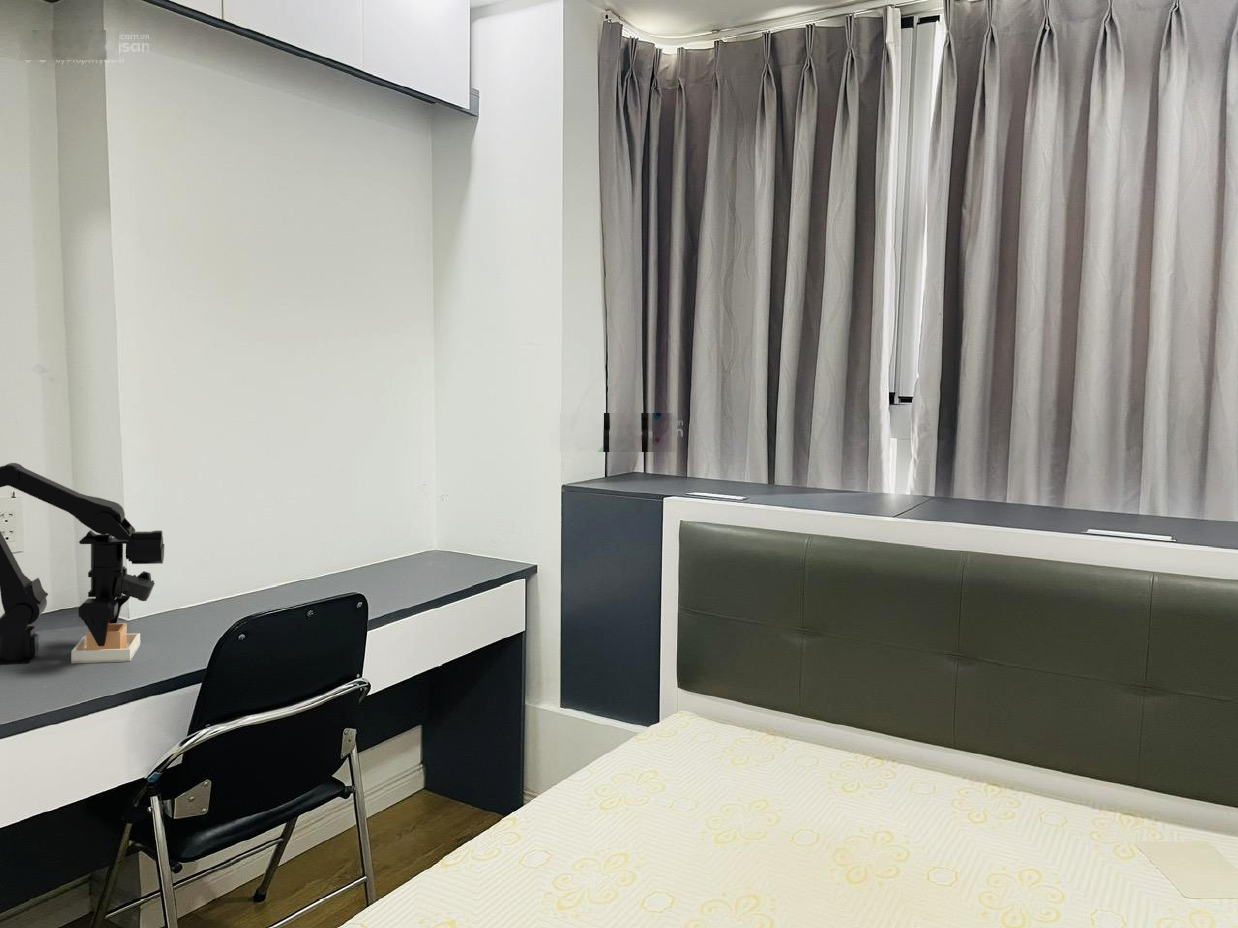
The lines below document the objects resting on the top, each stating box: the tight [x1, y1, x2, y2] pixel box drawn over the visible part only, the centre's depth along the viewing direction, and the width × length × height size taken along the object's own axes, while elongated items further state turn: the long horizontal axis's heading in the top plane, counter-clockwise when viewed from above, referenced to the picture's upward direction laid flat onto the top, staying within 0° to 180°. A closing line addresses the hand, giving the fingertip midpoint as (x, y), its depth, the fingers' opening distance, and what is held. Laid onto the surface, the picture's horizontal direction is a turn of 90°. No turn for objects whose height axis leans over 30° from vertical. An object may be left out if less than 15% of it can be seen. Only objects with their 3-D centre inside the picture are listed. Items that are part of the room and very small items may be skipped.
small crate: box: [86, 622, 128, 650], centre depth 184 cm, size 6×6×5 cm
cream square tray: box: [70, 633, 141, 664], centre depth 184 cm, size 10×10×2 cm
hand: (106, 638), depth 184 cm, fingers open, 9 cm apart
